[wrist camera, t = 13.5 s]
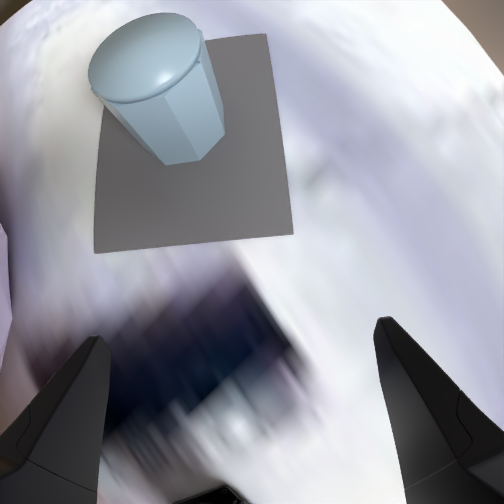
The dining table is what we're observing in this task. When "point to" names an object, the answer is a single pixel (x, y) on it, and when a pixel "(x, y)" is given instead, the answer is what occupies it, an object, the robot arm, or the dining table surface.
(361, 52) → the dining table surface
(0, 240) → the fruit bowl
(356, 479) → the dining table surface
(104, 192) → the placemat
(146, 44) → the dome-topped octagonal prism
